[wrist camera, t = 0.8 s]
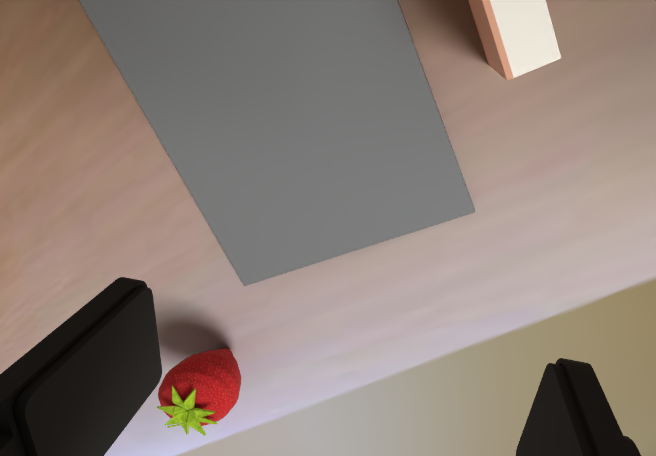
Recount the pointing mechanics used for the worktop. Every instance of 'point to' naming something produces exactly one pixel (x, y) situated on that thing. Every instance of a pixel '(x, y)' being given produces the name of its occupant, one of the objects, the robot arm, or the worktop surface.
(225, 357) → the strawberry
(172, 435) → the worktop surface
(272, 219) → the mat
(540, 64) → the tile
